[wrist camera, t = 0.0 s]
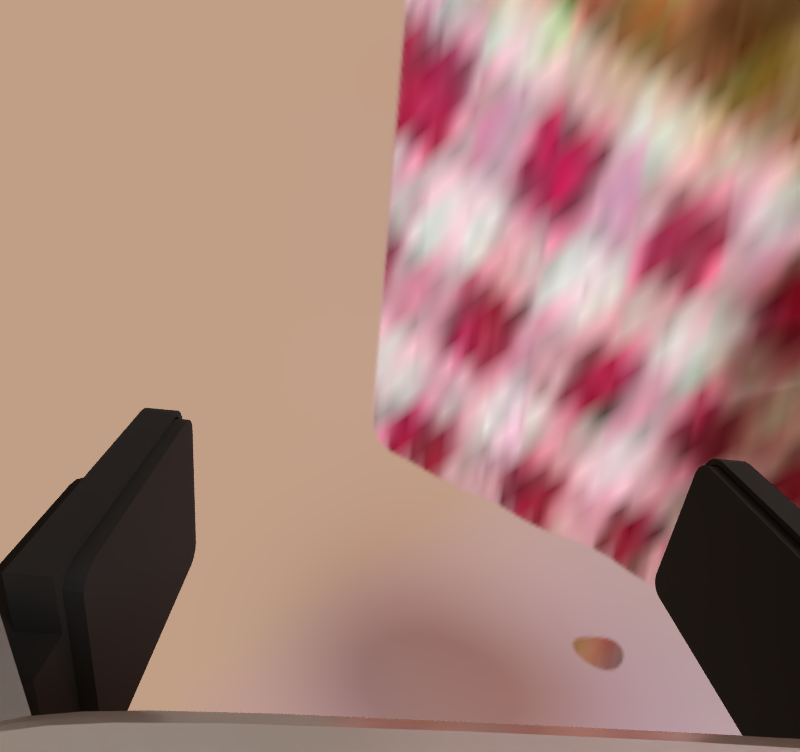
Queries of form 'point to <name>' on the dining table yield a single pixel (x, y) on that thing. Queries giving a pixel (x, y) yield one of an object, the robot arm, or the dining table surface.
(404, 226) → the dining table surface
